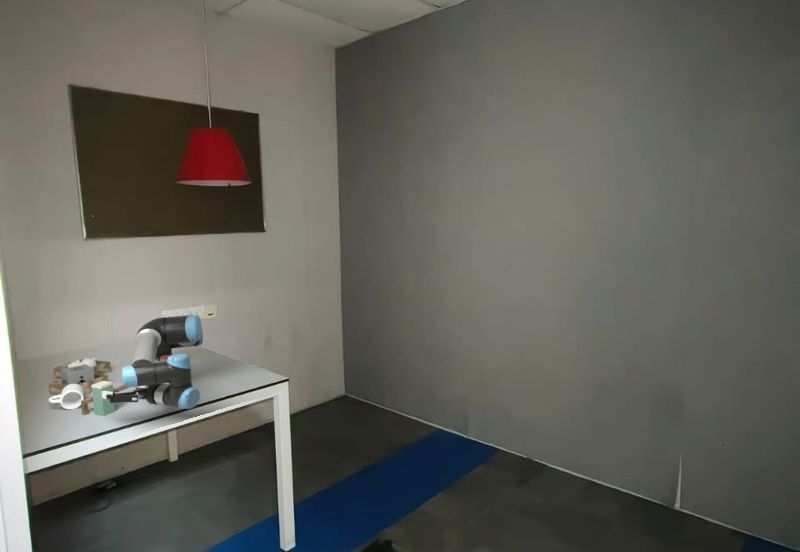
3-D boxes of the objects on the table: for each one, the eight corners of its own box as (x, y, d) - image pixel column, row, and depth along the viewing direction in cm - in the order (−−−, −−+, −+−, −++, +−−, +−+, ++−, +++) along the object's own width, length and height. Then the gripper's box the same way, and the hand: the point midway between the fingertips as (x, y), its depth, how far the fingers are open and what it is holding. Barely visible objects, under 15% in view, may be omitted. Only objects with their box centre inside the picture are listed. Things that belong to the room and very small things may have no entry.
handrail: (139, 391, 216) (138, 379, 215) (142, 391, 215) (141, 379, 215) (82, 414, 191) (80, 401, 190) (85, 414, 190) (83, 401, 190)
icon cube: (62, 391, 218) (60, 369, 216) (87, 385, 225) (85, 364, 224) (69, 396, 211) (67, 374, 210) (95, 389, 219) (93, 368, 218)
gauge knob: (166, 362, 217) (165, 355, 217) (171, 363, 216) (170, 355, 216) (160, 364, 214) (160, 356, 214) (165, 364, 213) (165, 357, 213)
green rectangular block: (105, 409, 195) (103, 380, 194) (115, 411, 194) (113, 382, 192) (94, 414, 190) (91, 385, 189) (103, 416, 189) (101, 386, 187)
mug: (84, 399, 206) (83, 381, 206) (84, 407, 198) (82, 388, 197) (50, 406, 200) (48, 387, 199) (48, 414, 192) (46, 394, 191)
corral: (85, 368, 251) (84, 358, 250) (138, 375, 238) (137, 365, 238) (19, 389, 221) (18, 378, 220) (75, 397, 209) (74, 386, 208)
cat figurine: (66, 358, 235) (95, 353, 242) (68, 365, 244) (96, 360, 250) (68, 375, 232) (97, 370, 239) (70, 382, 241) (98, 376, 247)
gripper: (133, 416, 169) (89, 409, 176) (186, 392, 192) (146, 387, 200) (131, 396, 168) (87, 389, 175) (185, 374, 192) (144, 369, 199)
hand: (118, 388), depth 187 cm, fingers open, 13 cm apart
